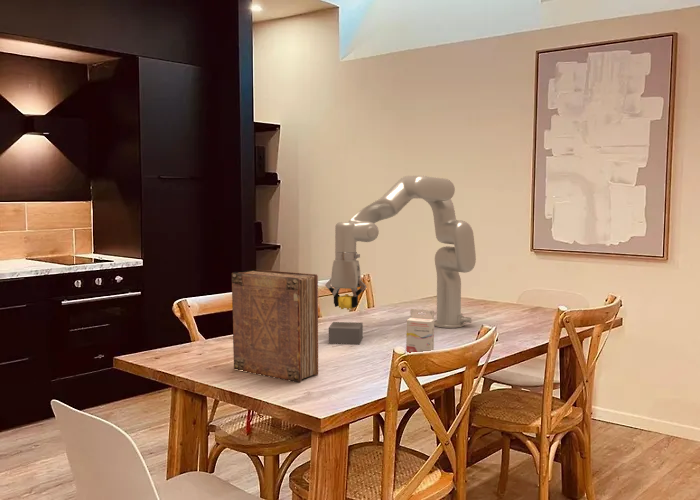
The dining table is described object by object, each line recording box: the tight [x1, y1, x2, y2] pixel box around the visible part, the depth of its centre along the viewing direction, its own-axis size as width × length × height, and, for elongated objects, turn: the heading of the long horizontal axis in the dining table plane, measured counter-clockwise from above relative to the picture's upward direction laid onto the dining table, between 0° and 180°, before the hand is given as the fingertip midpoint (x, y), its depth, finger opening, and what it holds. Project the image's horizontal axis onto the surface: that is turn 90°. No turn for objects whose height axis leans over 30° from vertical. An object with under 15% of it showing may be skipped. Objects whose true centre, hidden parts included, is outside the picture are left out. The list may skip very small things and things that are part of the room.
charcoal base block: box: [328, 321, 364, 346], centre depth 248 cm, size 11×11×6 cm
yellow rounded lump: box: [338, 293, 354, 311], centre depth 247 cm, size 8×6×5 cm
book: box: [231, 268, 319, 383], centre depth 204 cm, size 25×9×30 cm, turn 57°
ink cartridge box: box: [405, 308, 435, 353], centre depth 228 cm, size 9×5×15 cm, turn 71°
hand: (345, 306), depth 247 cm, fingers closed on yellow rounded lump, 5 cm apart
